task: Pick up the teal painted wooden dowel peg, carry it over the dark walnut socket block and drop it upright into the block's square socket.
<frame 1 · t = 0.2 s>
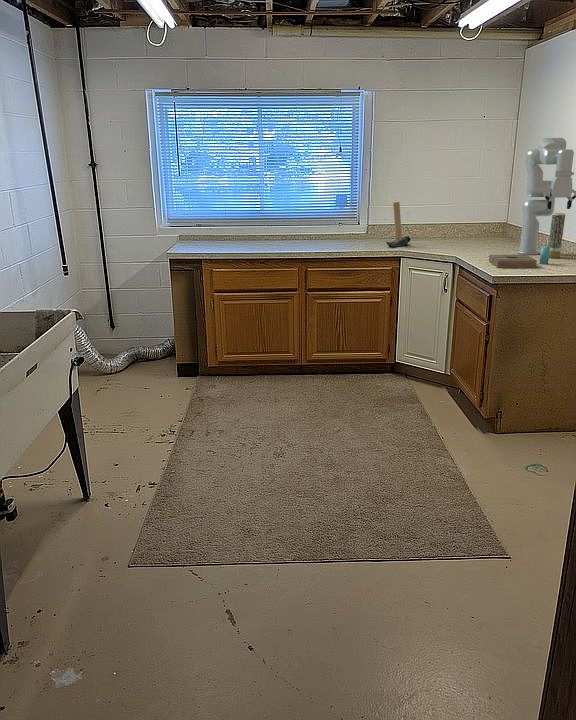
hand: (558, 209, 311), 30 cm above the countertop, fingers open, 9 cm apart
hammer: (398, 246, 400), on the countertop
bark patterned cylinder: (553, 257, 347), on the countertop
socket block: (511, 264, 327), on the countertop
dowel peg: (543, 263, 328), on the countertop
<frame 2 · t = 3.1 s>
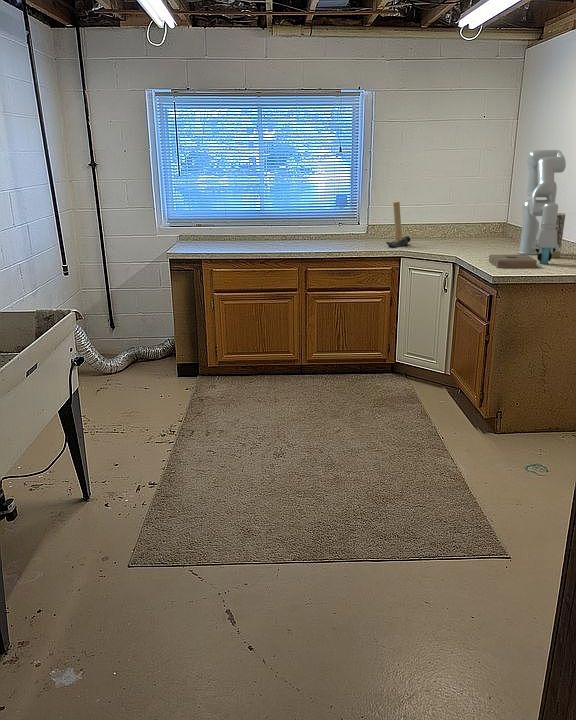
hand: (544, 260, 327), 2 cm above the countertop, fingers closed on dowel peg, 4 cm apart
dowel peg: (543, 263, 328), on the countertop, touching gripper
everything else where it was.
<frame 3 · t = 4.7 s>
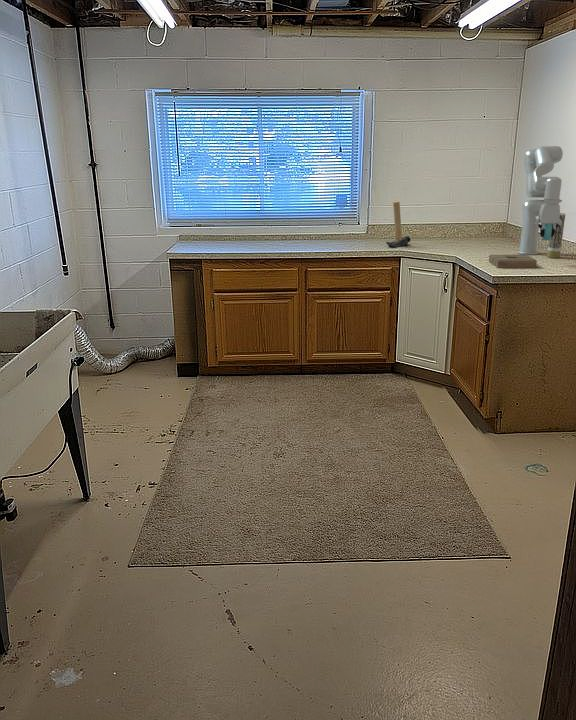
hand: (546, 236, 324), 15 cm above the countertop, fingers closed on dowel peg, 4 cm apart
dowel peg: (546, 239, 324), point 13 cm above the countertop, touching gripper
everything else where it was.
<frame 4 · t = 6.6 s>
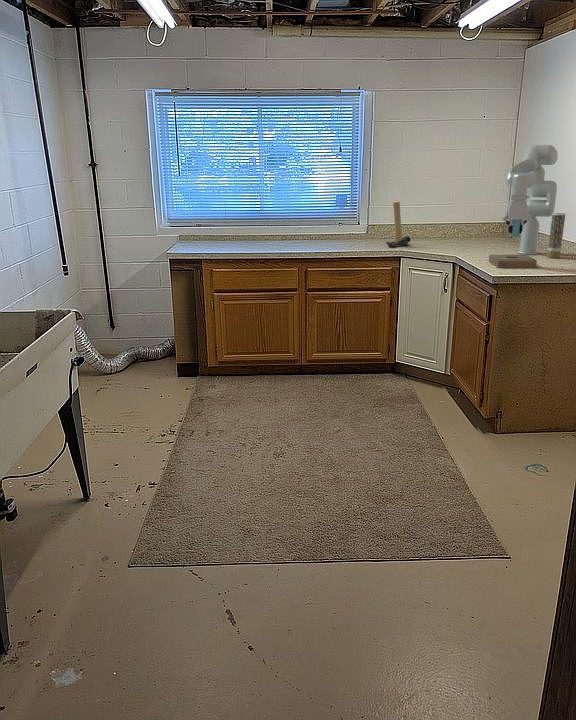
hand: (514, 232, 321), 17 cm above the countertop, fingers closed on dowel peg, 4 cm apart
dowel peg: (514, 236, 322), point 15 cm above the countertop, touching gripper
everything else where it was.
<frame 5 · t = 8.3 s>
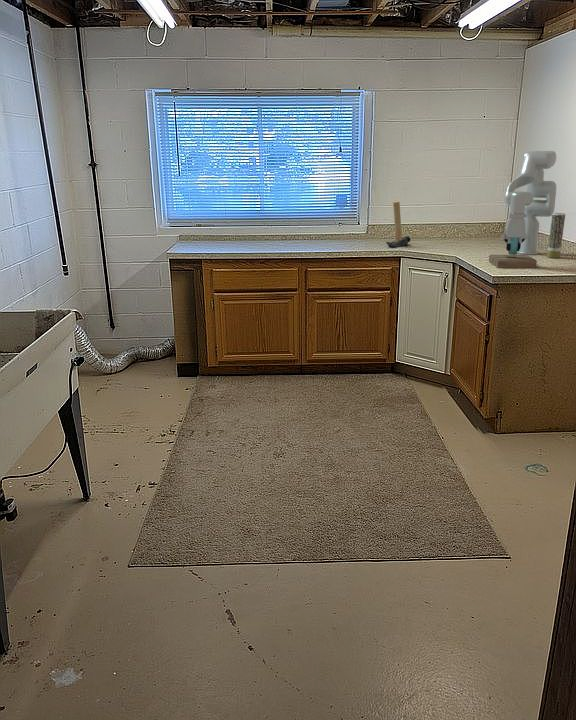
hand: (513, 250, 324), 8 cm above the countertop, fingers closed on dowel peg, 4 cm apart
dowel peg: (512, 253, 324), point 6 cm above the countertop, touching gripper
everything else where it was.
when the fingers open (5 cm above the countertop, at t = 10.0 s): dowel peg drops 3 cm, resting in socket block.
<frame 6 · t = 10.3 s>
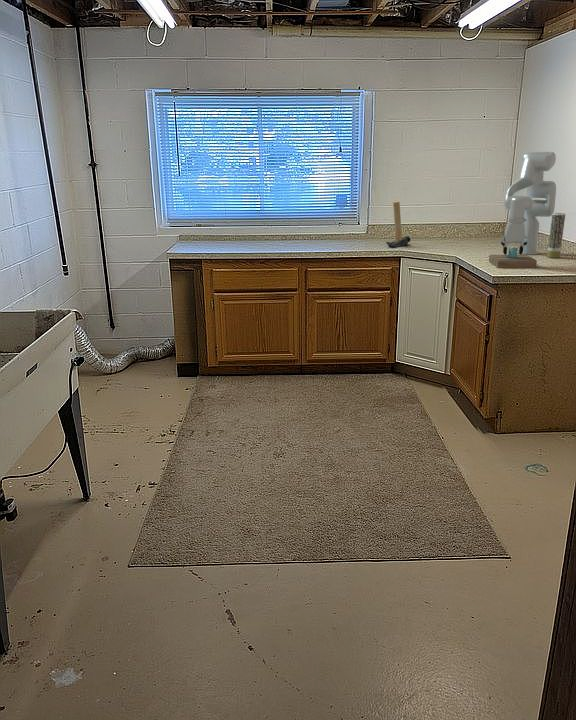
hand: (512, 253, 325), 6 cm above the countertop, fingers open, 7 cm apart
dowel peg: (511, 264, 327), resting in socket block
everything else where it was.
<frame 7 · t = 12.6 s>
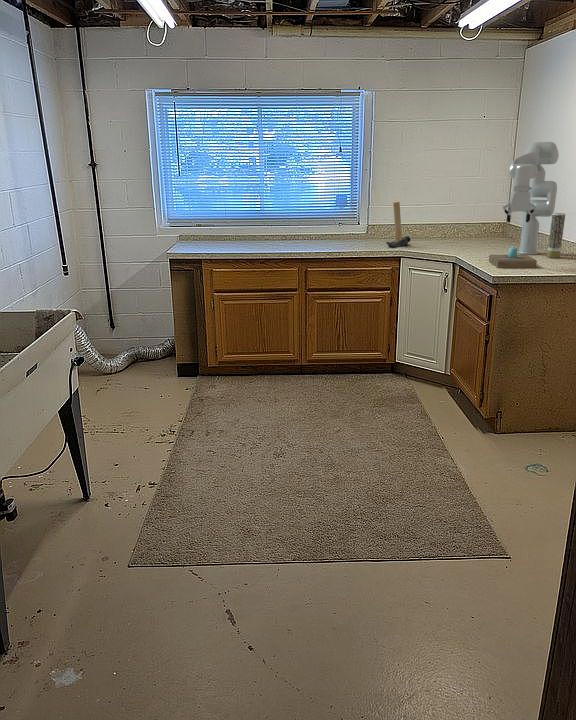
hand: (517, 222, 321), 23 cm above the countertop, fingers open, 9 cm apart
nothing on the countertop moved.
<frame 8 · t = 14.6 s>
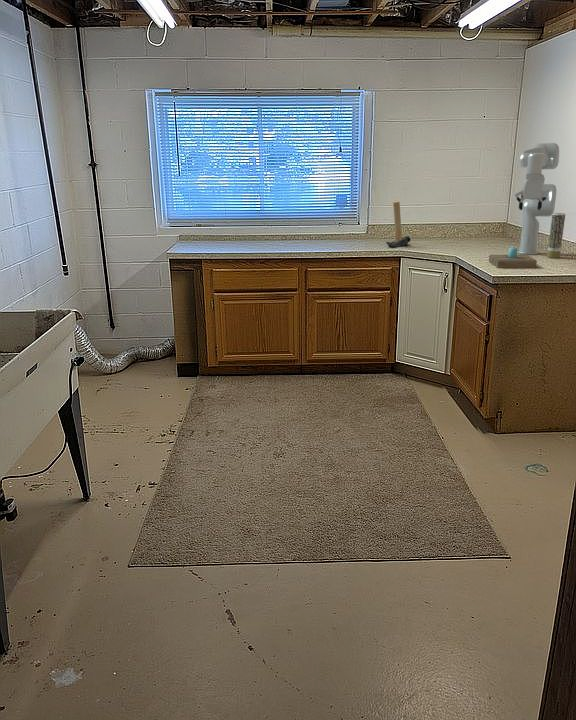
hand: (529, 209, 328), 28 cm above the countertop, fingers open, 9 cm apart
nothing on the countertop moved.
at the end: dowel peg 0.0 cm off-centre on the socket block, point 0.0 cm above the socket block's base; dowel peg tilted 0°; the gripper is holding nothing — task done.
